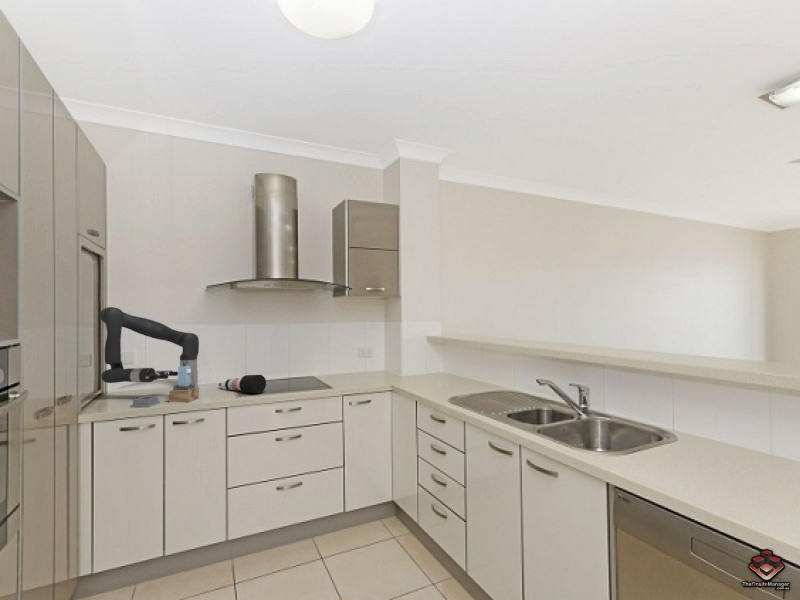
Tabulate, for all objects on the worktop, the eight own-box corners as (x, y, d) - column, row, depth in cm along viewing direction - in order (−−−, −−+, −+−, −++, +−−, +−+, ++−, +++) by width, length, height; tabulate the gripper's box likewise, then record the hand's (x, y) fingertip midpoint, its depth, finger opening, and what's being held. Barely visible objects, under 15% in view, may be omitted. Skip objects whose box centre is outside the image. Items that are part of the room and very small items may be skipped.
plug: (182, 388, 214) (182, 359, 214) (191, 388, 214) (191, 359, 214) (178, 389, 210) (178, 360, 210) (187, 389, 210) (187, 360, 210)
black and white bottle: (223, 395, 243) (229, 379, 248) (263, 395, 227) (268, 377, 231) (209, 390, 236) (215, 373, 240) (249, 390, 219) (254, 372, 224)
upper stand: (180, 398, 217) (180, 383, 217) (198, 398, 216) (198, 383, 216) (169, 402, 207) (169, 387, 207) (188, 402, 206) (188, 387, 206)
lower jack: (143, 402, 207) (143, 395, 207) (160, 402, 206) (160, 395, 207) (130, 407, 198) (130, 400, 198) (148, 407, 198) (148, 400, 198)
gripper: (133, 370, 206) (164, 370, 205) (151, 365, 220) (180, 365, 219) (133, 384, 206) (164, 385, 205) (151, 379, 220) (180, 379, 219)
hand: (172, 375), depth 212 cm, fingers open, 8 cm apart
